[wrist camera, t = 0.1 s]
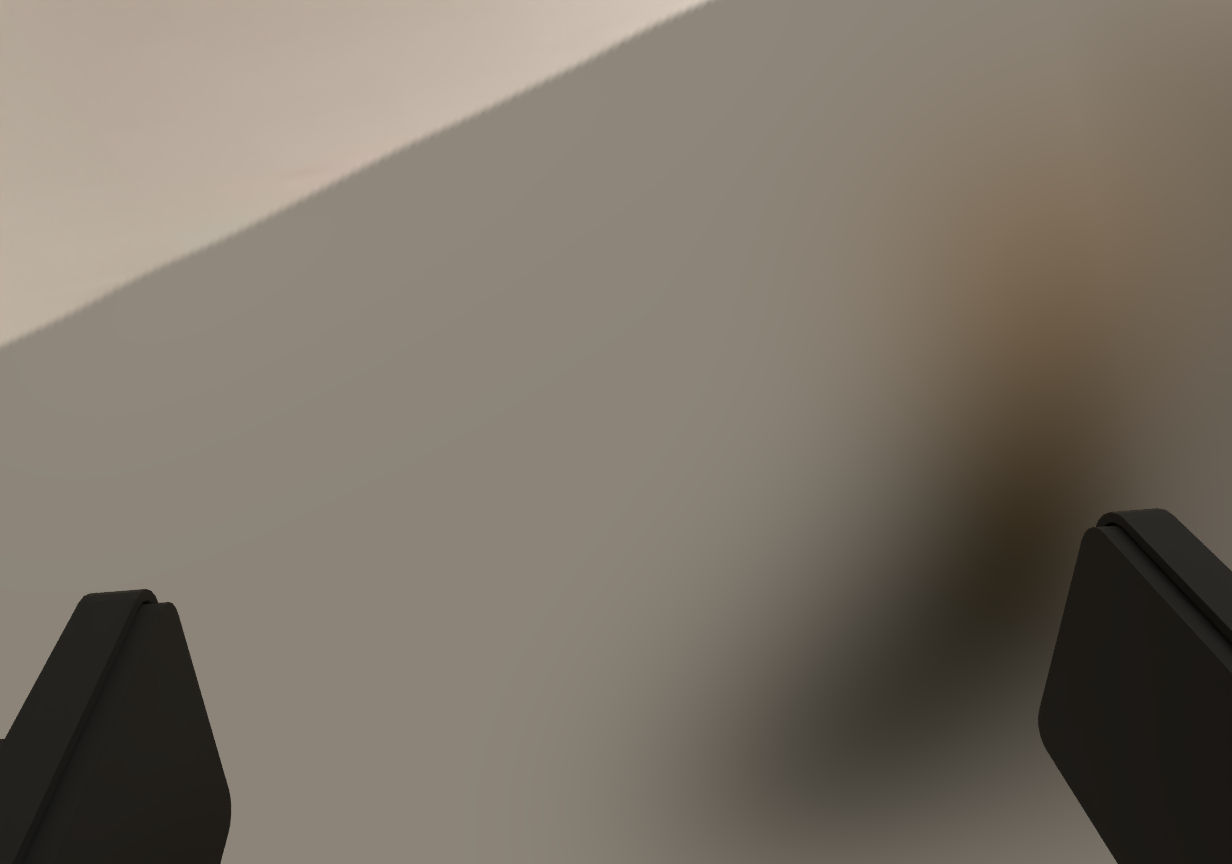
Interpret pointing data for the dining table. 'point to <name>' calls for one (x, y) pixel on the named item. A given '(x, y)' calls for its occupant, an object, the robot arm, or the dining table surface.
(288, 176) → the dining table surface
